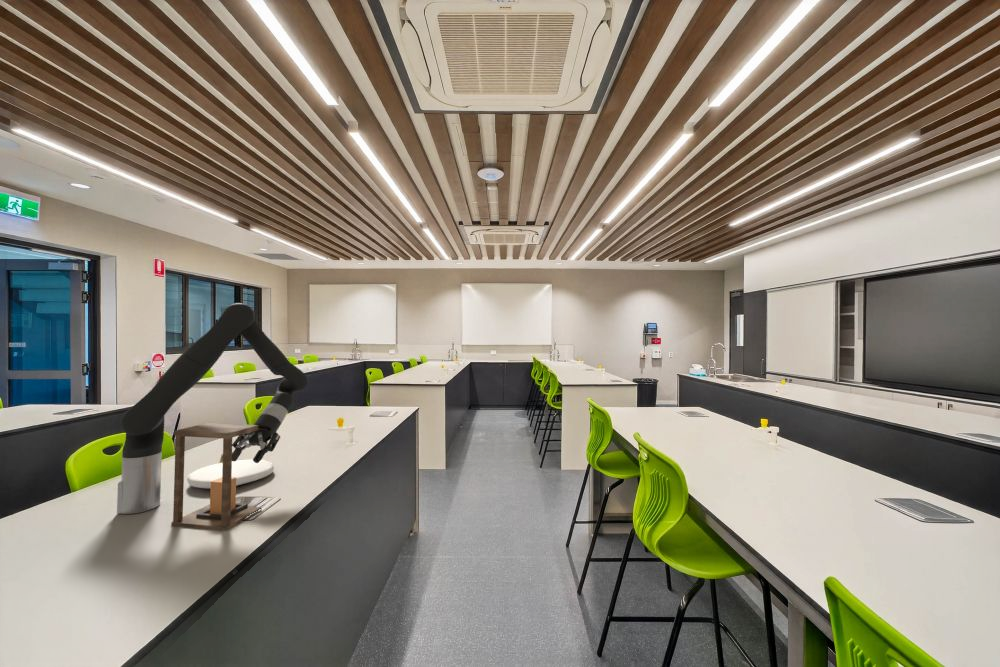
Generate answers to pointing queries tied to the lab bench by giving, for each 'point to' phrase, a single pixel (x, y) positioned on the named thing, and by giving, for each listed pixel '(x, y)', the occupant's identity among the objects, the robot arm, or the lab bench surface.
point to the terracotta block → (217, 495)
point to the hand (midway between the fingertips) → (243, 461)
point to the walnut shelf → (241, 510)
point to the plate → (240, 470)
